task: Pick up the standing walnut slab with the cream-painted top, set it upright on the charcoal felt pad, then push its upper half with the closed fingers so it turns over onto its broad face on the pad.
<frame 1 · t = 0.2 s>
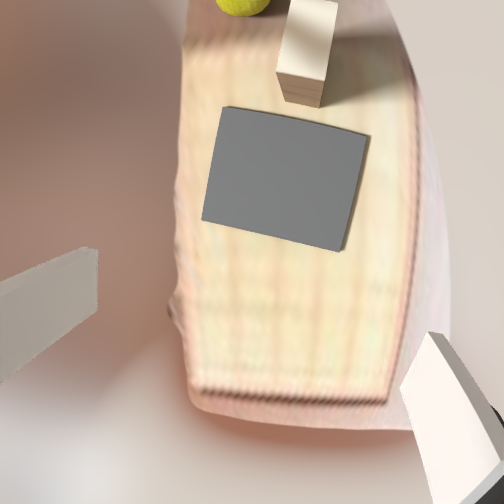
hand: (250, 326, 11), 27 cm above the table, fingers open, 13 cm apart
fruit: (249, 5, 31), on the table
felt pad: (282, 177, 36), on the table
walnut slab: (308, 74, 33), on the table
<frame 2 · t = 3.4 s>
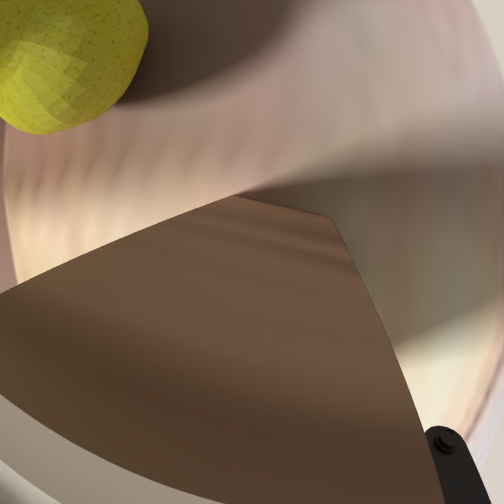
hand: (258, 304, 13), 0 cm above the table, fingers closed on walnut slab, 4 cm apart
fruit: (112, 69, 12), on the table
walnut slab: (260, 298, 13), on the table, touching gripper
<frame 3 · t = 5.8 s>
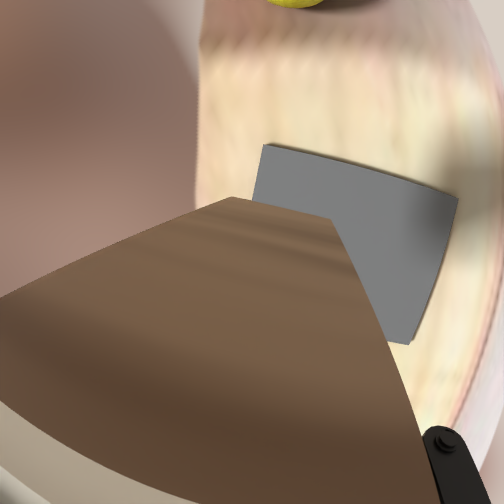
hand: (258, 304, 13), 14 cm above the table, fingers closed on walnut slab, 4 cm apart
felt pad: (346, 251, 26), on the table
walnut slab: (260, 299, 13), point 13 cm above the table, touching gripper
when the fingers open (2 cm above the table, at t = 8.1 s): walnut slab stays where it is, resting on felt pad.
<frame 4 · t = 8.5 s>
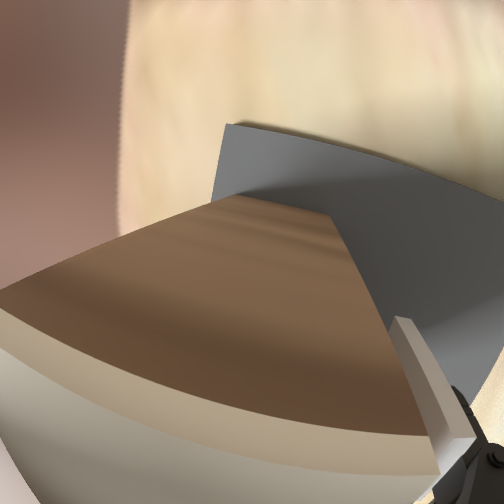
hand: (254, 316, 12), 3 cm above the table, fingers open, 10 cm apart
felt pad: (375, 315, 14), on the table
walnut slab: (262, 292, 14), point 1 cm above the table, touching felt pad
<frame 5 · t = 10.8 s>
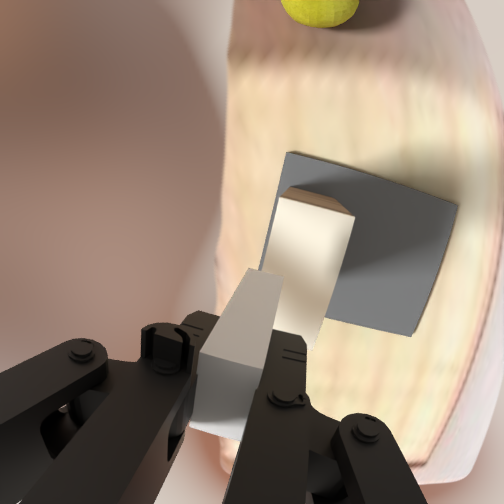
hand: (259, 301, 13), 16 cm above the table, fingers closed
fruit: (318, 12, 23), on the table
felt pad: (357, 250, 28), on the table
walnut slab: (301, 235, 28), point 1 cm above the table, touching felt pad
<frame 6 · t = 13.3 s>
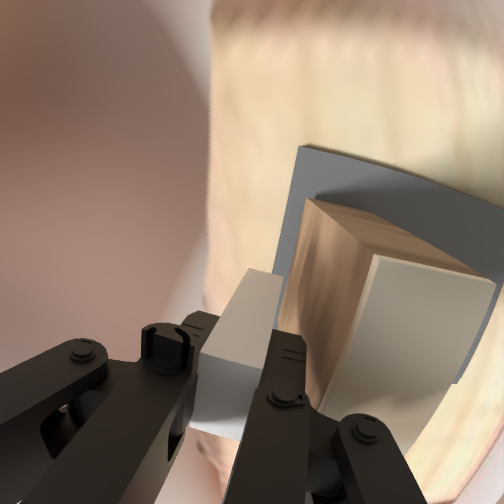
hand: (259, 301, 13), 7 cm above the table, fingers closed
felt pad: (398, 283, 20), on the table
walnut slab: (323, 267, 19), point 1 cm above the table, tilted 8°, touching felt pad
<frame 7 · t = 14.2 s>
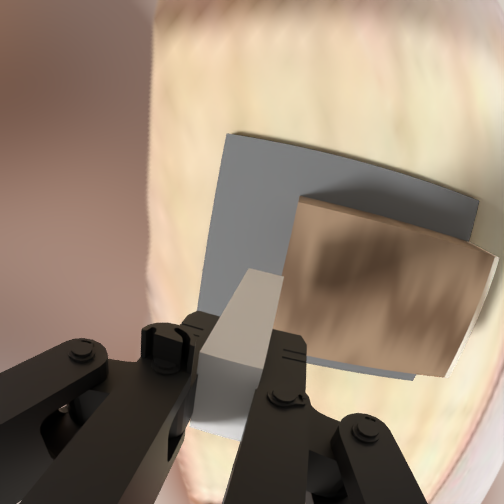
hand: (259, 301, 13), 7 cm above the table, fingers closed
felt pad: (336, 269, 20), on the table
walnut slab: (283, 268, 18), point 3 cm above the table, tilted 90°, touching felt pad
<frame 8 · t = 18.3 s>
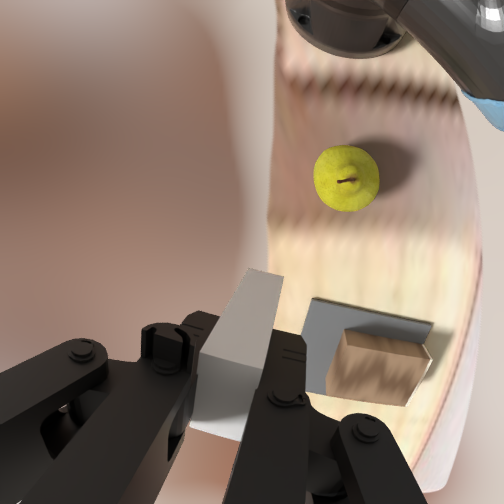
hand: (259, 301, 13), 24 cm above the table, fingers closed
fruit: (342, 177, 35), on the table
felt pad: (357, 357, 40), on the table
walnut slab: (335, 362, 38), point 3 cm above the table, tilted 90°, touching felt pad
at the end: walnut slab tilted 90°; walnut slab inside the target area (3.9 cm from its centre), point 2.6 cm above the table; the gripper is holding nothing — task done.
